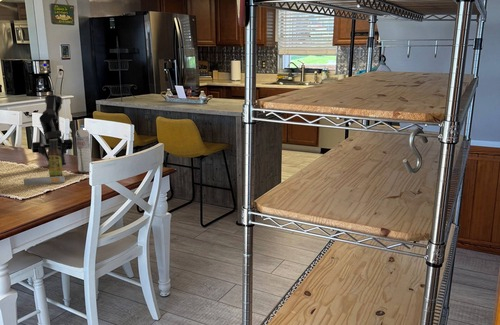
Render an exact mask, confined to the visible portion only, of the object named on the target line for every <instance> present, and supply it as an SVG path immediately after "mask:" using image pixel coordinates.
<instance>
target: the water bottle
mask: <svg viewBox="0 0 500 325" xmlns="http://www.w3.org/2000/svg"><path fill="white" fill-rule="evenodd" d="M75 140H76V141H75V142H76V156H77V166H78V168H77V169H78V172H79V173H90V172H89V163H90V162H91V163H92V154H91V144H90V143H91V142H90V132H89V131H88V130H87V129H86V128H85V125H83V124H80V125H79V128H78V129H77V130H76V132H75Z"/></svg>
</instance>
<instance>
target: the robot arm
mask: <svg viewBox="0 0 500 325" xmlns="http://www.w3.org/2000/svg"><path fill="white" fill-rule="evenodd" d="M44 101H45V102H44V103H45V105H46V106H45V110H44V111H43V112H42V115H40V116H39V122H40V125H41V128H42V132H43V137H44V141H45V143H41V141H33V142H32V143H31V152H32V153H33V154H35V153H38V154H41V155H42V156H43V157H44V158H45V159H46V161H49V158H48V151H49V149H50V144H49V139H54V138H56V139H58V149H59V150H60V152H61V159H62V166H63V165H66V164H67V162H66V160H65V159H66V158H65V154H67V153H68V152H67V151H68V150H72V149H73V145H74V143H73V140H72V139H70V138H69V139H62V131H61V129H60V111H61V110H62V105H63V98H62V97H61V96H59V95H56V94H48V95H46V96H45V97H44Z"/></svg>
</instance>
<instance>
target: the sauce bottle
mask: <svg viewBox="0 0 500 325" xmlns="http://www.w3.org/2000/svg"><path fill="white" fill-rule="evenodd" d="M49 144H50V149H49V151H48V150H47V155H48V158H49V161H48V174H49V177H55V176H64V175H63V173H64V172H63V165H62V159H61V152H60V150H59V149H58V139H56V138H54V139H49Z"/></svg>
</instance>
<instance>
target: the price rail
mask: <svg viewBox="0 0 500 325" xmlns="http://www.w3.org/2000/svg"><path fill="white" fill-rule="evenodd" d="M64 177H65V175H63V176H55V177H50V176H43V177H42V176H41V177H28V178H23V186H35V185H36V186H37V185H48V184H60V183H61V184H62V183H63V184H64V183H65V182H66V179H65V180H64Z"/></svg>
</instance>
